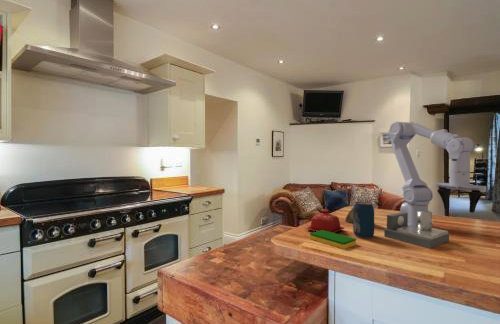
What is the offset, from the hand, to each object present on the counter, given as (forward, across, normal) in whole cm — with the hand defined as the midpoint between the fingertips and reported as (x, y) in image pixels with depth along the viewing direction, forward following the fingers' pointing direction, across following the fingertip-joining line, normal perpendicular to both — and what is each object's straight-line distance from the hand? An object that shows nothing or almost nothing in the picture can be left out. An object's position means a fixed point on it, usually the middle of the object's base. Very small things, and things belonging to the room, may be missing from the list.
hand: (459, 210), depth 98 cm
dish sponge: (+10, -21, -41) cm, 47 cm away
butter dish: (+10, -32, -33) cm, 47 cm away
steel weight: (+6, -5, -14) cm, 16 cm away
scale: (+9, -7, -15) cm, 19 cm away
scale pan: (+7, -6, -15) cm, 17 cm away
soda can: (+10, -19, -27) cm, 34 cm away
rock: (+10, -32, -12) cm, 36 cm away
